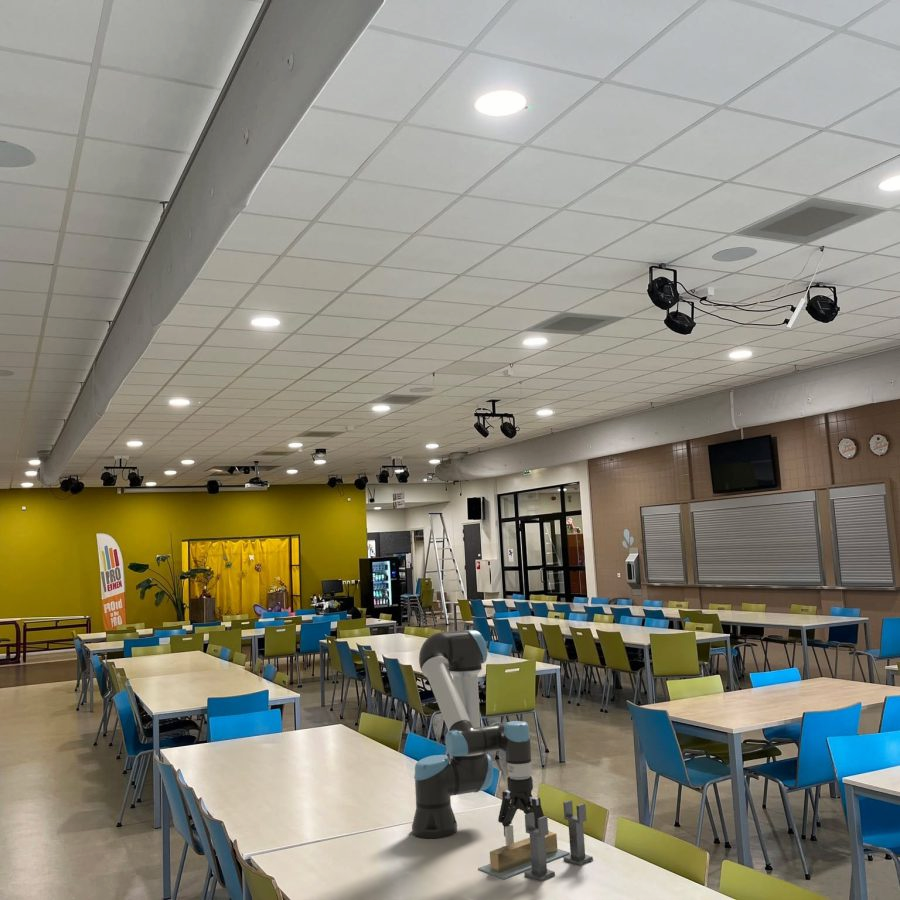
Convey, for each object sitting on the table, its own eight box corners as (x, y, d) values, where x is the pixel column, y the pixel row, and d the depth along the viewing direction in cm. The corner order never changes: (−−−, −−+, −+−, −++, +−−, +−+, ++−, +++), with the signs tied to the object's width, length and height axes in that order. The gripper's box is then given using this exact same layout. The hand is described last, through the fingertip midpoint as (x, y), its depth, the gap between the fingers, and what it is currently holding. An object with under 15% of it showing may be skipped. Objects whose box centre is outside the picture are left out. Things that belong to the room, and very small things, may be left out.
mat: (478, 869, 235) (478, 868, 235) (543, 845, 252) (543, 844, 253) (504, 879, 227) (504, 877, 227) (570, 853, 244) (570, 852, 244)
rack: (524, 876, 229) (520, 816, 231) (577, 855, 242) (573, 798, 245) (539, 881, 224) (535, 820, 226) (592, 860, 238) (588, 802, 240)
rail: (490, 870, 233) (489, 851, 234) (549, 848, 249) (548, 831, 249) (499, 873, 231) (497, 854, 232) (557, 851, 246) (556, 833, 247)
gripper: (483, 772, 250) (487, 847, 247) (539, 785, 232) (544, 867, 229) (501, 767, 255) (506, 841, 252) (557, 780, 236) (563, 859, 233)
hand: (524, 853), depth 240 cm, fingers open, 11 cm apart
